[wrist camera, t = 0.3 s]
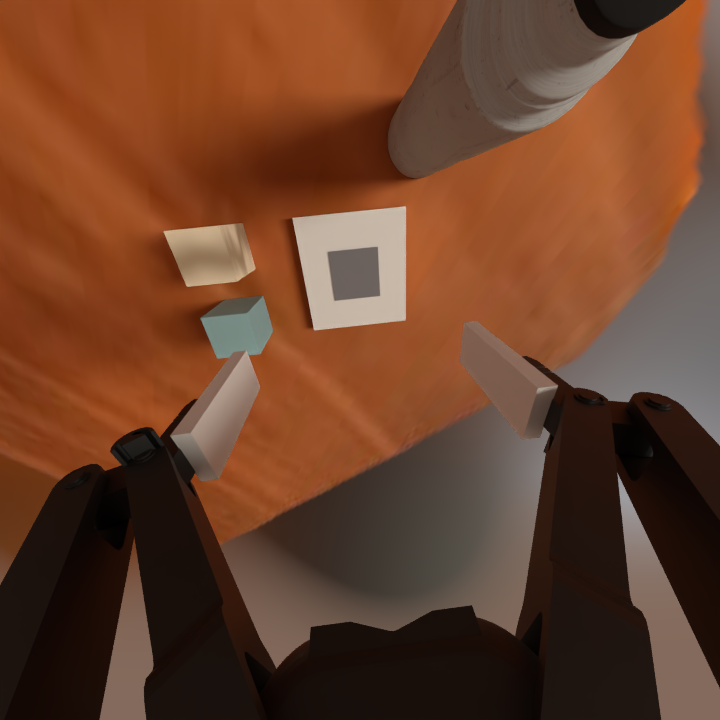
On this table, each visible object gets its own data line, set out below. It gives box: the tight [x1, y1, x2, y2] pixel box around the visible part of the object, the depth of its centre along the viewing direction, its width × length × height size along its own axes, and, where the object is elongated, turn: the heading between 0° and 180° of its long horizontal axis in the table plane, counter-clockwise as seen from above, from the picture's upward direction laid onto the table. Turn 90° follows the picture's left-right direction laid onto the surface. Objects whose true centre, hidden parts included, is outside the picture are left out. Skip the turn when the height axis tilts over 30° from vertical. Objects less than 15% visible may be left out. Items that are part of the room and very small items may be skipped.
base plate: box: [292, 206, 406, 330], centre depth 38 cm, size 16×15×2 cm
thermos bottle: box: [388, 0, 686, 178], centre depth 19 cm, size 8×8×28 cm
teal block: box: [200, 296, 273, 359], centre depth 38 cm, size 6×6×8 cm
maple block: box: [163, 223, 256, 287], centre depth 33 cm, size 6×6×8 cm
